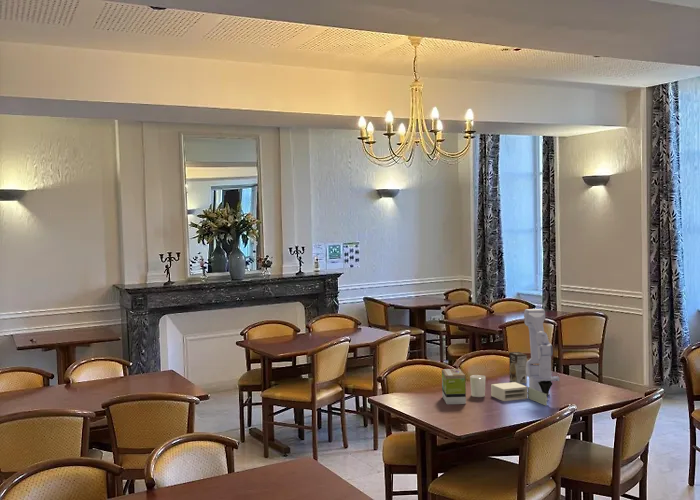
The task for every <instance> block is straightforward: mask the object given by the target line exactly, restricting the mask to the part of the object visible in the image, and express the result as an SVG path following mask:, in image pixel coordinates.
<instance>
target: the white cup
mask: <svg viewBox="0 0 700 500" xmlns="http://www.w3.org/2000/svg"><path fill="white" fill-rule="evenodd" d="M486 380H487V379H486V375H483V374H472V375H470V376H469V381H470V383H469V384H470V391H471V397H474V398H484V397H485V395H486V394H485V393H486Z"/></svg>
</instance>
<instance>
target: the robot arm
mask: <svg viewBox="0 0 700 500" xmlns="http://www.w3.org/2000/svg"><path fill="white" fill-rule="evenodd" d="M523 319H524V321H523V322H524V325H525V326H526V327H527V328H528V335H529V346H530V347H529V348H530V349H529V351H530V358H529V359H528V360H527V362H526V375H527V378H528V387H530V388H532V389H535V390H537V391H540V392H543V393H545V394H547V398H548V397H549V396H550V394H551V393H550V389H551V387H552V385H553V382H560V376H557V375H556V376H552V357H553V354H554V350H553V349H554V347H553V345H552V343H551V342H550V339H549V336H548V334H547V332H545V327H544V322H545V319H546V311H545V309H544V308H529V309H528V308H525V309H524V312H523Z"/></svg>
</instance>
